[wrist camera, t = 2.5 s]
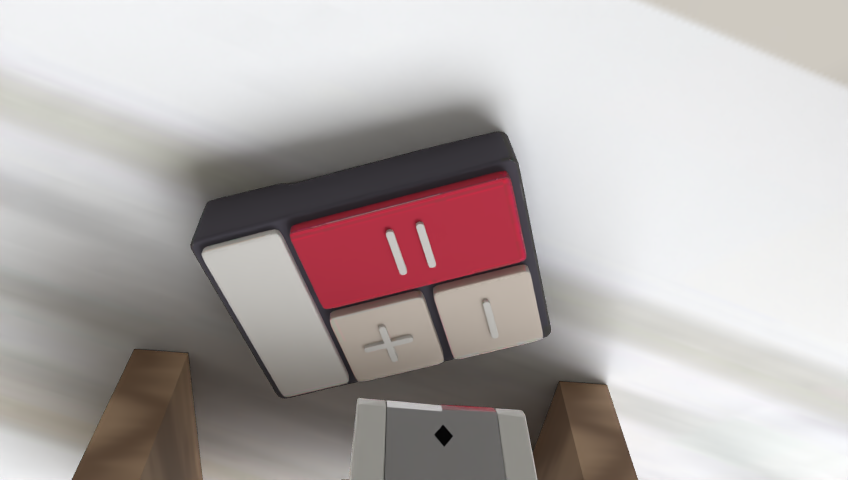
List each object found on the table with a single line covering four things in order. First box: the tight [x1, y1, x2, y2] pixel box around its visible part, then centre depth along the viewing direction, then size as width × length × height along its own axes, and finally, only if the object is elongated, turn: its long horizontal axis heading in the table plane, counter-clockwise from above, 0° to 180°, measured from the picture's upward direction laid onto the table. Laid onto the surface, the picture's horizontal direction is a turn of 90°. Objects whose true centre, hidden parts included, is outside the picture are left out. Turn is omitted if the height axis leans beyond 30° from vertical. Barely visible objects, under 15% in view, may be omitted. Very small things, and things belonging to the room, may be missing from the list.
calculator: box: [191, 132, 551, 398], centre depth 32 cm, size 11×4×15 cm
